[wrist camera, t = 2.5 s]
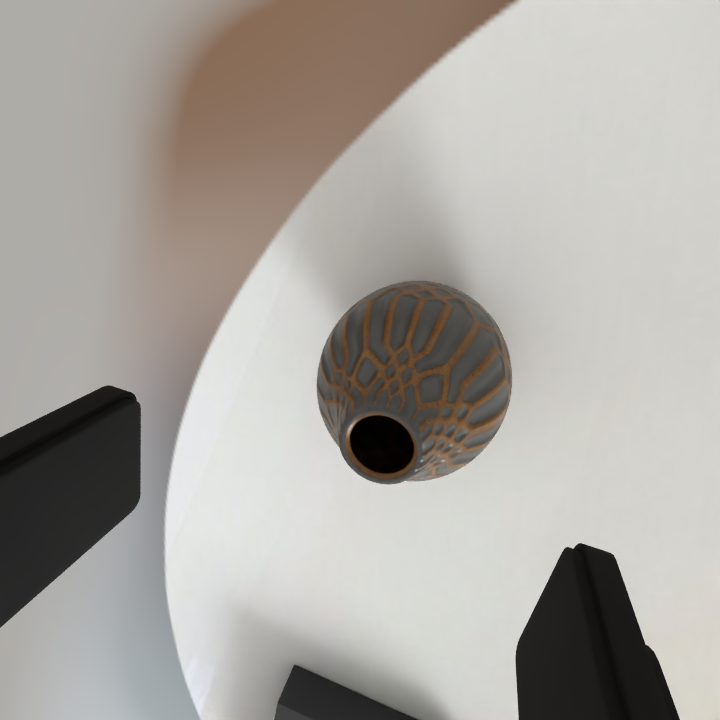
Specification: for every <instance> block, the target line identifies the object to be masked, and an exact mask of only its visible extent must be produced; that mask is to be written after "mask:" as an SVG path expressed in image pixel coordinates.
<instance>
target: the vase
mask: <svg viewBox="0 0 720 720" xmlns="http://www.w3.org/2000/svg"><path fill="white" fill-rule="evenodd" d="M511 387H512V369H511V362H510V356H509V352H508V349H507V346H506V343H505V340H504V338H503V335H502V333H501V331H500V329H499V327H498V326H497V324H496V323H495V321H494V320H493V318H492V317H491V316H490V314H489V313H488V312H487V311H486V310H485V309H484V308H483V307H482V306H481V305H480V304H478V303H477V302H476V301H475V300H473V299H472V298H471V297H469V296H468V295H466V294H464V293H462V292H460V291H458V290H456V289H454V288H451V287H449V286H446V285H442V284H438V283H433V282H426V281H410V282H402V283H397V284H393V285H390V286H387V287H384V288H382V289H379V290H377V291H375V292H373V293H371V294H370V295H368V296H366V297H365V298H363V299H362V300H360V301H359V302H357V303H356V304H355V305H354V306H352V307H351V308H350V309H349V310H348V311H347V312H346V313H345V314H344V315H343V316H342V317H341V319H340V320H339V321H338V323H337V324H336V325H335V327H334V329H333V330H332V332H331V333H330V335H329V337H328V339H327V341H326V344H325V346H324V349H323V352H322V355H321V358H320V363H319V368H318V375H317V396H318V403H319V408H320V412H321V415H322V418H323V421H324V423H325V425H326V427H327V429H328V431H329V433H330V435H331V437H332V438H333V440H334V441H335V442H336V444H337V445H338V446H339V447H340V450H341V453H342V455H343V457H344V459H345V461H346V462H347V464H348V465H349V466H350V467H351V468H352V469H353V470H354V471H355V472H356V473H357V474H359V475H360V476H362V477H363V478H365V479H367V480H370V481H372V482H376V483H380V484H396V483H401V482H404V481H425V480H430V479H435V478H439V477H442V476H445V475H448V474H450V473H453V472H455V471H456V470H458V469H460V468H462V467H463V466H465V465H466V464H468V463H469V462H471V461H472V460H473V459H474V458H475V457H476V456H478V455H479V454H480V453H481V452H482V451H483V450H484V449H485V447H486V446H487V445H488V444H489V442H490V441H491V440H492V439H493V437H494V436H495V434H496V433H497V431H498V429H499V427H500V426H501V424H502V422H503V419H504V417H505V415H506V412H507V408H508V405H509V402H510V396H511Z"/></svg>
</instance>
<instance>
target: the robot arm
mask: <svg viewBox="0 0 720 720" xmlns="http://www.w3.org/2000/svg"><path fill="white" fill-rule="evenodd" d="M140 416H141V408H140V404H139V403H138V402H137V400H136V397H135V395H134V394H133V393H131V392H128V391H125V390H122V389H119V388H116V387H113V386H104V387H102V388H100V389H98V390H96V391H94V392H92V393H90V394H87V395H85V396H84V397H81V398H79V399H77V400H75V401H73V402H71V403H69V404H67V405H65V406H63V407H61V408H59V409H57V410H55V411H53V412H51V413H49V414H47V415H45V416H43V417H41V418H39V419H37V420H35V421H33V422H31V423H29V424H27V425H25V426H23V427H20V428H19V429H16V430H14V431H12V432H10V433H8V434H6V435H4V436H2V437H0V627H1V626H3V625H4V624H5V623H6V622H7V621H8V620H9V619H10V618H12V617H13V616H14V615H15V614H16V613H17V612H18V611H20V610H21V609H22V608H23V607H24V606H25V605H26V604H27V603H29V602H30V601H31V600H32V599H33V598H34V597H36V596H37V595H38V594H39V593H40V592H41V591H42V590H43V589H44V588H46V587H47V586H48V585H49V584H50V583H51V582H53V581H54V580H55V579H56V578H57V577H58V576H59V575H61V574H62V573H63V572H64V571H65V570H66V569H67V568H68V567H70V566H71V565H72V564H73V563H74V562H75V561H76V560H77V559H79V558H80V557H81V556H82V555H83V554H84V553H85V552H87V551H88V550H89V549H90V548H91V547H92V546H93V545H94V544H96V543H97V542H98V541H99V540H100V539H101V538H102V537H103V536H105V535H106V534H107V533H108V532H109V531H110V530H112V529H113V528H114V527H115V526H116V525H117V524H118V523H119V522H121V521H122V520H123V519H124V518H125V517H126V516H127V515H129V514H130V513H131V512H132V511H133V510H134V508H135V507H136V506H137V504H138V502H139V499H140V445H141V443H140V442H141V440H140V437H141V434H140V433H141V432H140V431H141V430H140V429H141V424H140V423H141V422H140V421H141V417H140ZM516 676H517V694H518V712H519V720H680V719H679V716H678V713H677V710H676V708H675V705H674V702H673V699H672V697H671V694H670V691H669V688H668V686H667V683H666V680H665V677H664V675H663V672H662V669H661V666H660V664H659V661H658V659H657V657H656V655H655V653H654V651H653V650H652V649H651V648H650V647H649V646H647V645H645V642H644V639H643V636H642V633H641V630H640V627H639V625H638V622H637V619H636V616H635V613H634V610H633V607H632V604H631V602H630V599H629V596H628V593H627V590H626V587H625V584H624V581H623V578H622V576H621V573H620V570H619V567H618V564H617V561H616V559H615V557H614V555H613V554H611V553H609V552H606V551H603V550H600V549H597V548H594V547H591V546H588V545H585V544H582V543H579V544H577V545H576V546H575V548H574V549H572V548H569V547H566V548H565V549H564V550H563V552H562V554H561V556H560V558H559V560H558V562H557V564H556V566H555V568H554V570H553V572H552V574H551V576H550V578H549V580H548V582H547V584H546V586H545V588H544V590H543V592H542V594H541V596H540V598H539V600H538V602H537V604H536V606H535V608H534V610H533V612H532V615H531V617H530V619H529V621H528V623H527V625H526V627H525V629H524V631H523V633H522V635H521V637H520V639H519V641H518V645H517V650H516Z"/></svg>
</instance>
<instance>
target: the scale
mask: <svg viewBox="0 0 720 720" xmlns="http://www.w3.org/2000/svg"><path fill="white" fill-rule="evenodd" d="M274 720H416V719H413V718H411V717H409V716H407V715H404V714H402V713H400V712H398V711H396V710H393V709H391V708H389V707H387V706H384V705H382V704H380V703H378V702H376V701H373V700H371V699H369V698H367V697H364V696H362V695H360V694H358V693H355V692H353V691H351V690H349V689H347V688H344V687H342V686H340V685H338V684H335V683H333V682H331V681H329V680H327V679H324V678H322V677H320V676H318V675H315V674H313V673H311V672H309V671H307V670H304V669H302V668H300V667H298V666H295V665H294V666H293V669H292V671H291V673H290V676H289V678H288V680H287V682H286V685H285V687H284V689H283V692H282V694H281V696H280V698H279V701H278V704H277V709H276V714H275V719H274Z"/></svg>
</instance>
